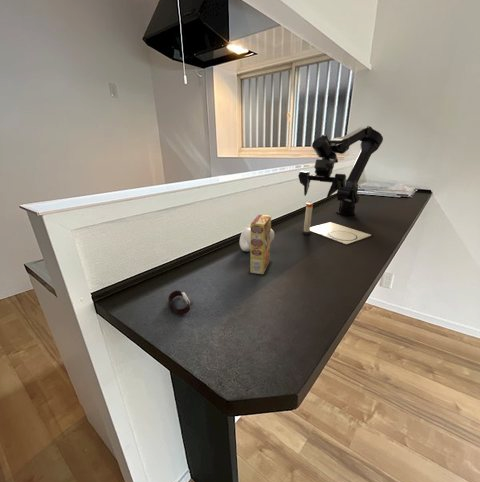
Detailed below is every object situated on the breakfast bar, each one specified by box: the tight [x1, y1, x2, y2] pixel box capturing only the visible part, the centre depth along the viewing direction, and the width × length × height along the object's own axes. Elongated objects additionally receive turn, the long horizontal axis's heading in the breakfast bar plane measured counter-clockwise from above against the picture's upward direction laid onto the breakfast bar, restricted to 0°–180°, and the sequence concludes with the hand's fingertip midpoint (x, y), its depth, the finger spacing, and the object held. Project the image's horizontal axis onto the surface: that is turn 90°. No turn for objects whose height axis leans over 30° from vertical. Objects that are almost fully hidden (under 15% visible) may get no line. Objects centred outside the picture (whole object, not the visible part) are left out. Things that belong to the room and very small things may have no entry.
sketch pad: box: [310, 221, 372, 245], centre depth 107 cm, size 20×16×1 cm
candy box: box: [249, 214, 272, 275], centre depth 77 cm, size 9×4×15 cm, turn 162°
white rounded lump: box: [239, 223, 275, 253], centre depth 89 cm, size 11×12×9 cm
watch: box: [167, 290, 191, 315], centre depth 61 cm, size 8×5×4 cm, turn 33°
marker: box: [302, 202, 314, 236], centre depth 103 cm, size 2×2×12 cm
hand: (315, 196), depth 106 cm, fingers open, 9 cm apart
